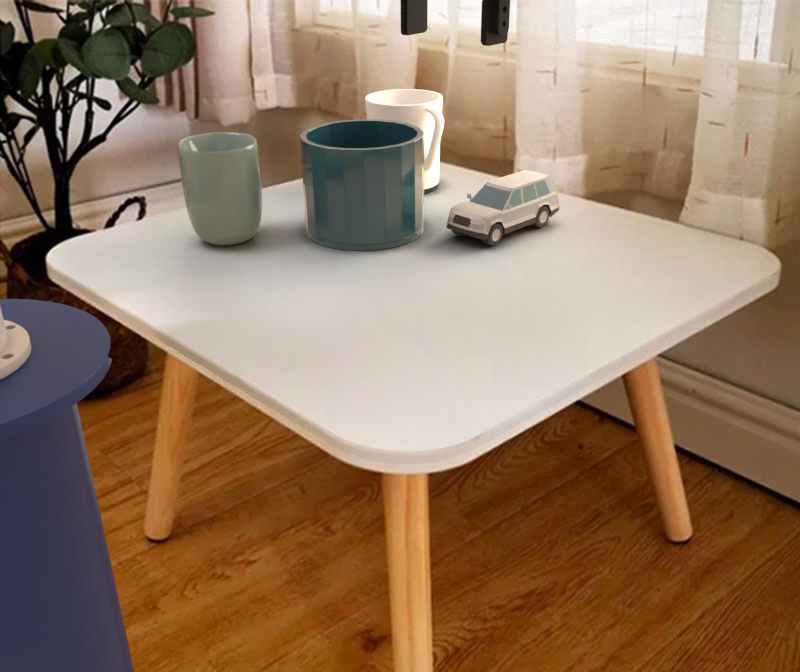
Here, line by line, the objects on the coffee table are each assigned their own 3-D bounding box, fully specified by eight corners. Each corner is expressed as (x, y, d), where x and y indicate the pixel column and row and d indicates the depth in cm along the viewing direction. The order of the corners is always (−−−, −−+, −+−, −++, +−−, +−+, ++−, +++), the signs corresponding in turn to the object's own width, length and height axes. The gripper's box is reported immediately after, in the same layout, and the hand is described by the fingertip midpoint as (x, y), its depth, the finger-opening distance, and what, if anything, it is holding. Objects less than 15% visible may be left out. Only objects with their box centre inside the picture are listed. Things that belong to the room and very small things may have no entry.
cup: (258, 223, 101) (250, 128, 96) (272, 246, 95) (264, 147, 90) (185, 231, 99) (172, 135, 94) (194, 256, 93) (181, 155, 88)
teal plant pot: (367, 259, 91) (363, 156, 86) (282, 232, 98) (274, 136, 93) (447, 227, 99) (448, 131, 94) (363, 204, 106) (360, 113, 101)
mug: (352, 185, 112) (349, 96, 107) (409, 171, 117) (408, 85, 112) (411, 206, 105) (410, 112, 100) (469, 190, 110) (471, 100, 105)
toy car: (439, 238, 96) (439, 190, 93) (520, 209, 104) (522, 164, 101) (481, 252, 92) (483, 203, 90) (562, 221, 100) (565, 175, 97)
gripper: (353, -173, 82) (358, 34, 91) (513, -181, 72) (502, 53, 81) (410, -171, 87) (410, 26, 96) (567, -178, 77) (552, 43, 85)
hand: (452, 38), depth 88 cm, fingers open, 9 cm apart
